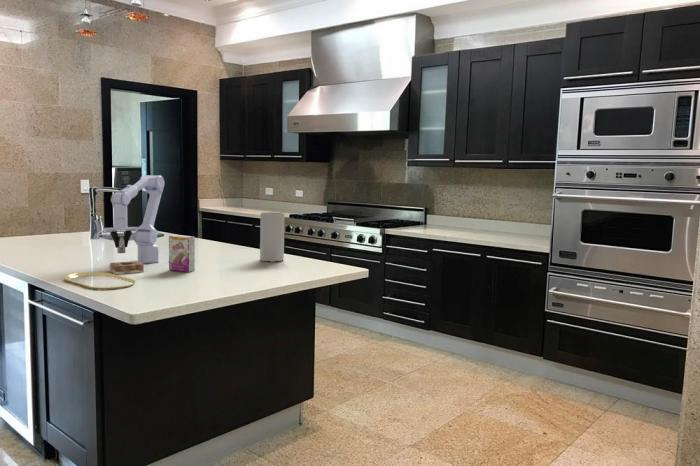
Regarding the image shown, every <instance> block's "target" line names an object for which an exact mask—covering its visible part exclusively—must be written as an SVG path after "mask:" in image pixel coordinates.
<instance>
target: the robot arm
mask: <svg viewBox="0 0 700 466" xmlns="http://www.w3.org/2000/svg"><path fill="white" fill-rule="evenodd" d="M165 183H166V182H165V179H164V177H163V176H162V175H161V174H160V175H153V174H152V175H149V174H148V175H147V174H143V175H142V176H140V179H139V180H138V181H137V182H136V183H133V185H132V184H127V185H126V187H124V188H123V189H120V190H119V192H118V191H117V192H114V193H113V194H111V197H110V202H111V204H112V208H113V223H114V225H113V227H103V232H104V233H110V236H111V237H112V239H113V240H112V241H113V243H114V246H115V248H118V235H119V233H122V232H123V235H125V248H128V246H129V245H128V244H129V240H130V239H131V236H132V235H133V241H134V242H135V244H136V245H137V259H136V260H134V261H138V262H140V263H142V264H151V263H152V264H153V263H154V264H155V263H160V262H159V246H158V244H155V243H156V242H157V237H158V236H157V233H158V231H157V229H156V228H155V227H154V226H155V221H156V217H157V214H158V211H159V205H160V203H161V202H160V201H161V198H162V194H163V191H164V188H165ZM143 189H144V190H145V192H146V193H147V194H148V195H149V197H148V201H147V205H146V209H145V213H144V216H143V221H142V223H141V225H139V226H128V222H129V221H128V205H129V204H130V202H131V200H132V199H134V198H135V197H137V196H138V193H139V191H141V190H143ZM133 232H134V234H133Z"/></svg>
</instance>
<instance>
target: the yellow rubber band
mask: <svg viewBox="0 0 700 466" xmlns="http://www.w3.org/2000/svg"><path fill="white" fill-rule="evenodd" d="M85 275H89V276H102V275H105V276H104V277H108V276H110V277H109V278H112V277H114V278H113V279H116V278H117V280H119V279H121V280H120V281H123V280H124V281H123V282H127V281H128V282H127V283H130V282H131V283H130V284H127V285H126V284H125V285H119V286H110V287H108V286H107V287H106V286H105V287H104V286H102V287H101V286H98V287H97V286H89V285H86V284H83V283H81V282H76V281H74V280H71V279H74V278H77V277H78V276H79V277H86V276H85ZM64 280H65V281H66V282H68V283H70V284H75V285H78V286H81V287H84V288H86V289H87V288H88V289H90V288H92V289H91V290H97V289H112V290H118V289H117V288H121V289H126V288H129V286H130V287H132V286H133V285H134V284H135V283H136V280H135V279H133V278H129V277H125V276H121V275H119V274H115V273H110V272H104V271H103V272H102V271H101V272H99V271H96V272H95V271H94V272H93V271H92V272H91V271H90V272H79V273H73V274H68V275H66V276H65V277H64ZM125 287H126V288H125Z"/></svg>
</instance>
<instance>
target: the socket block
mask: <svg viewBox="0 0 700 466" xmlns="http://www.w3.org/2000/svg"><path fill="white" fill-rule="evenodd" d="M144 267H145V266H144V263H140V262H138V261H135V260H132V261H121V262H120V261H118V262H109V270H110V272H112V274H114V275H123V274H134V273H144V272H145V271H144V270H145V269H144Z"/></svg>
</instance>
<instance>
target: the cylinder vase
mask: <svg viewBox="0 0 700 466" xmlns="http://www.w3.org/2000/svg"><path fill="white" fill-rule="evenodd" d="M259 228H260V229H259V231H260V232H259V233H260V234H259V235H260V237H259V238H260V239H259V240H260V241H259V242H260V243H259V261H261V260H262V262H265V261H270V262H269V263H276V262H275V261H279V262H282V260H283V261H284V258H285V256H284V255H285V254H284V253H285V213H282V212H274V211H273V212H272V211H271V212H269V211H268V212H261V213H260V227H259Z"/></svg>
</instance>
